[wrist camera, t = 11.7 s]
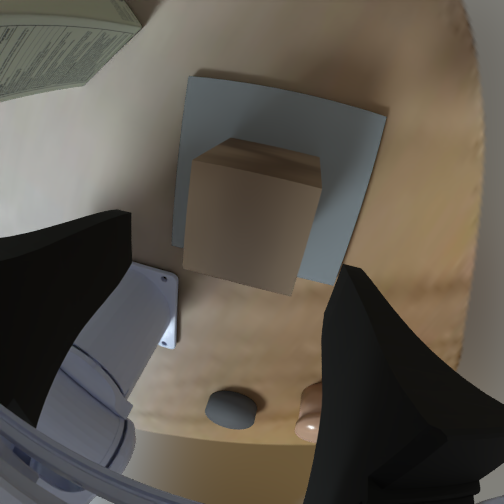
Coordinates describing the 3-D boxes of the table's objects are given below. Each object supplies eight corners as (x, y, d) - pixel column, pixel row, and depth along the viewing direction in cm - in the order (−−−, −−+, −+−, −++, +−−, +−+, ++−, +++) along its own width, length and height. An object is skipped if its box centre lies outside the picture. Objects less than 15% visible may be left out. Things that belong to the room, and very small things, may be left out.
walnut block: (218, 217, 19) (182, 268, 14) (230, 137, 17) (192, 159, 12) (298, 237, 19) (290, 296, 14) (319, 157, 16) (322, 189, 11)
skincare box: (117, -12, 13) (-36, -42, 3) (145, 28, 15) (-23, 6, 4) (57, 51, 16) (-88, 71, 5) (80, 91, 17) (-74, 130, 7)
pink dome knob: (293, 404, 28) (288, 438, 25) (307, 377, 26) (304, 414, 22) (337, 411, 28) (336, 445, 24) (356, 385, 25) (357, 422, 22)
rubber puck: (208, 408, 31) (203, 421, 30) (211, 383, 29) (206, 397, 27) (252, 420, 31) (249, 433, 29) (261, 396, 29) (258, 411, 27)
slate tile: (175, 241, 21) (171, 245, 21) (192, 76, 16) (188, 76, 15) (332, 280, 21) (333, 285, 20) (384, 116, 15) (386, 116, 15)
